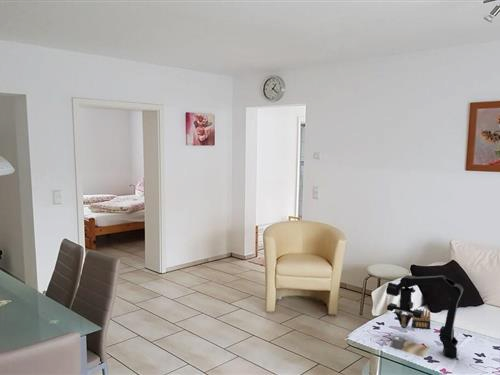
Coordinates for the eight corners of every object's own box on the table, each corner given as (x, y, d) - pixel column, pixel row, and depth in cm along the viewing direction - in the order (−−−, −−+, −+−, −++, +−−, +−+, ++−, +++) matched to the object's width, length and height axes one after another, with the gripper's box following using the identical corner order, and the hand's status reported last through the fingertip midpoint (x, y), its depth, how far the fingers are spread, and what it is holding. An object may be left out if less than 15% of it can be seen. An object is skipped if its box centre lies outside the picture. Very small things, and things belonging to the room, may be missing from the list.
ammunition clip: (429, 328, 255) (430, 309, 254) (430, 329, 253) (431, 310, 252) (411, 326, 256) (412, 308, 255) (412, 328, 255) (413, 309, 254)
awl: (407, 328, 231) (408, 316, 230) (402, 328, 230) (403, 316, 230) (404, 325, 234) (405, 314, 233) (399, 326, 233) (400, 314, 233)
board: (429, 349, 226) (430, 347, 226) (422, 359, 215) (423, 357, 215) (396, 339, 237) (397, 337, 237) (388, 348, 226) (388, 346, 226)
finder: (403, 346, 227) (404, 338, 226) (401, 349, 223) (401, 341, 222) (394, 343, 230) (395, 335, 229) (391, 346, 226) (392, 338, 225)
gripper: (426, 298, 231) (425, 325, 233) (393, 290, 243) (392, 316, 244) (421, 303, 223) (419, 331, 224) (387, 295, 234) (385, 322, 235)
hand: (403, 325), depth 232 cm, fingers closed on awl, 3 cm apart
